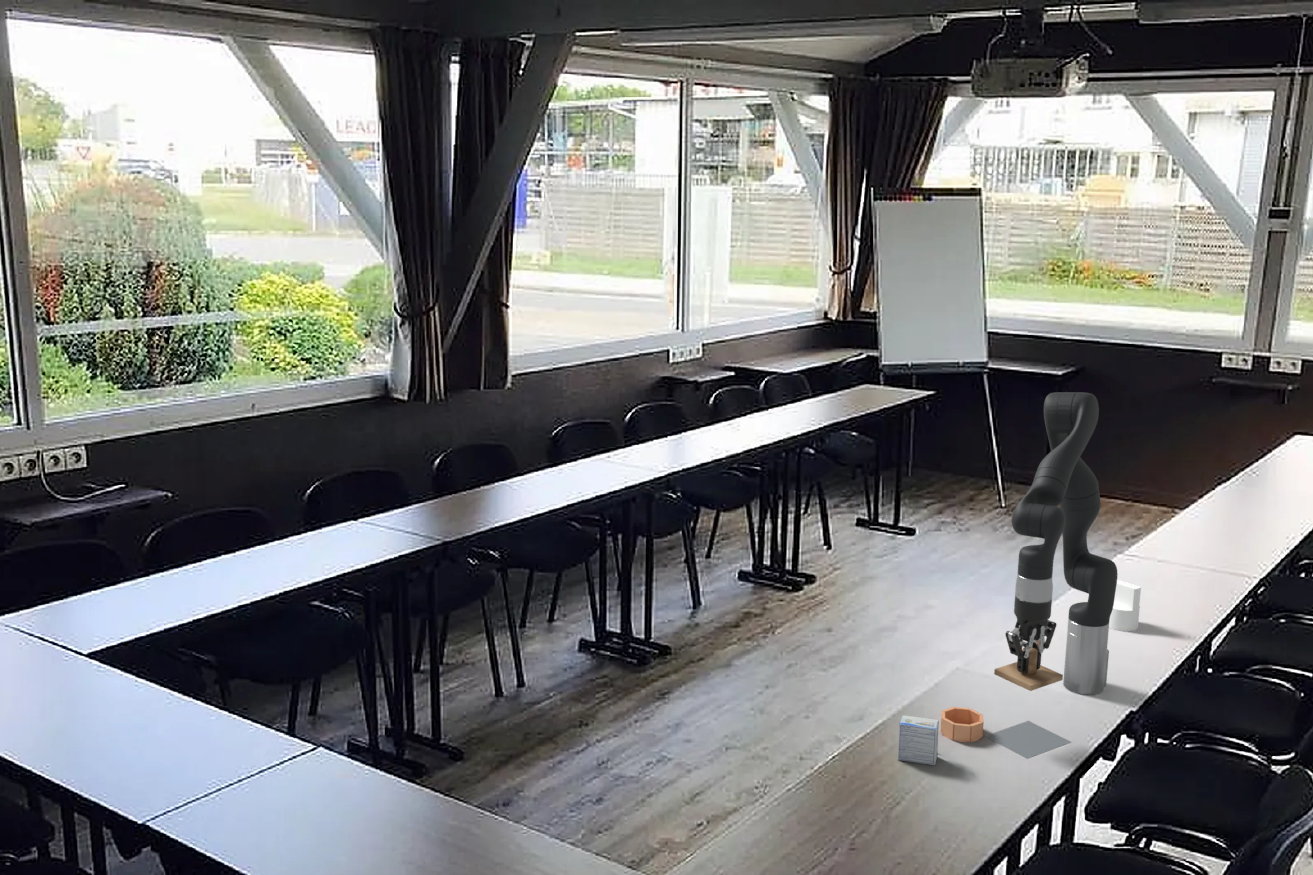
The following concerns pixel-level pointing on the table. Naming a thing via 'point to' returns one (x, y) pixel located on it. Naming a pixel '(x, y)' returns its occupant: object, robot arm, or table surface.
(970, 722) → the bowl
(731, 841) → the table surface
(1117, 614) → the cylinder with rectangular tab
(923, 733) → the medicine box
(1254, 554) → the table surface
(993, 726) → the table surface
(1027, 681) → the lid
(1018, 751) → the mat
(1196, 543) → the table surface
